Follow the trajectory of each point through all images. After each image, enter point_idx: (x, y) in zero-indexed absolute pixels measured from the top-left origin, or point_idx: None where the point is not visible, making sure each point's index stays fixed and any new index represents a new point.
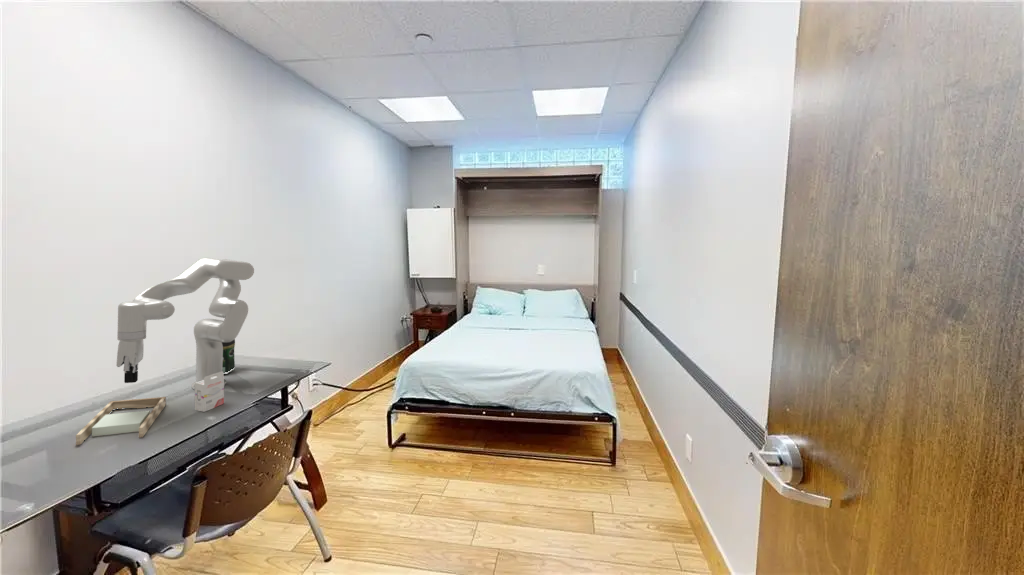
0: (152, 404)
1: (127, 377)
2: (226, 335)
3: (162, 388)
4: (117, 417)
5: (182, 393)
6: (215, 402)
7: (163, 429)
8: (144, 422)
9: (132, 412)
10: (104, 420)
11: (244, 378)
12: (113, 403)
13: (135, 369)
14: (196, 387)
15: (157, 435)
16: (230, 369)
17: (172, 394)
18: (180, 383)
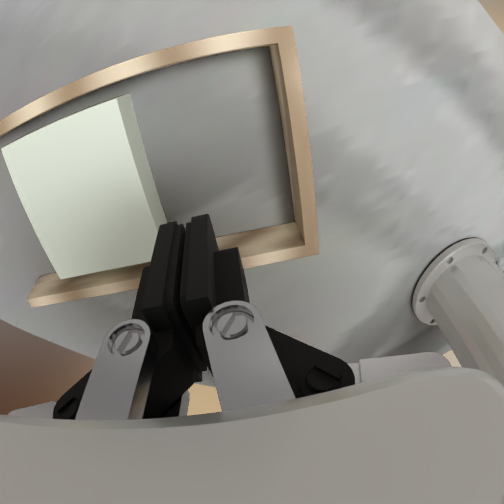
0: (293, 197)
1: (138, 298)
2: None
3: (480, 149)
4: (88, 173)
5: (414, 236)
6: None
7: (95, 310)
8: (59, 296)
9: (142, 202)
10: (57, 142)
11: None
12: (276, 44)
13: (184, 411)
14: None
15: (62, 310)
16: None
17: (415, 206)
18: (501, 192)
